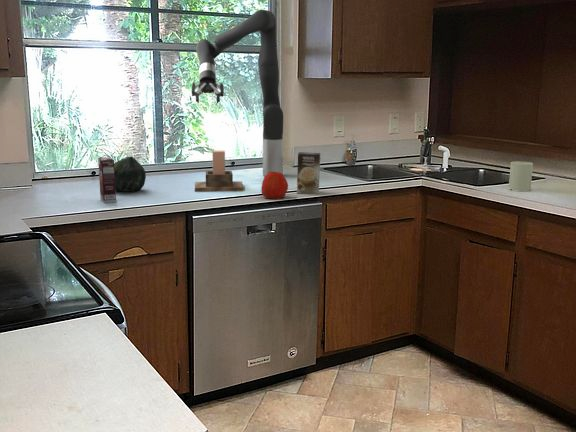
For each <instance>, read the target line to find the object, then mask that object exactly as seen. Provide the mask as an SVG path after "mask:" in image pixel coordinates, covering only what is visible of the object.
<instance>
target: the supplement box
mask: <svg viewBox="0 0 576 432" xmlns="http://www.w3.org/2000/svg"><path fill="white" fill-rule="evenodd" d="M97 163H98V164H97V165H98V177H99V178H98V179H99V194H100V196H99V197H100V200H101V201H102V202H103V203H104V204H105V203H116V202H117V191H116V188H115V169H114V163H115V159H113V158H111V157H110V156H103V157H97Z"/></svg>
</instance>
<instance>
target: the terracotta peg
mask: <svg viewBox="0 0 576 432" xmlns="http://www.w3.org/2000/svg"><path fill="white" fill-rule="evenodd" d="M225 151H226V150H212V171H213V174H225V171H226V152H225Z"/></svg>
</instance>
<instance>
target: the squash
mask: <svg viewBox="0 0 576 432" xmlns="http://www.w3.org/2000/svg"><path fill="white" fill-rule="evenodd" d="M114 169H115V188H116V192H121V191H126V192H128V191H129V192H131V193H135V192H139V191H141V190H142V189H143V188H144V186H145V183H146V178H147V177H146V176H147V174H146V170H145V168H144V167H143V165H142V164H141V163H140V162H139V161H138V160H137V159H136V158H135V157H134V156H126V157H124V158H121V159H120V160H117V161H116V162H114Z"/></svg>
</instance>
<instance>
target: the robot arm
mask: <svg viewBox="0 0 576 432" xmlns="http://www.w3.org/2000/svg"><path fill="white" fill-rule="evenodd" d="M257 32H259V37H260V48H259V53H258V54H259V55H258V59H257V60H258V61H257V63H258V65H257V66H258V75H259V82H260V86H261V87H260V88H261V91H262V103H263V105H262V119H263V123H262V124H263V125H262V127H263V129H262V176H264V177H265V176H266V174H267V173H268V172H274V171H275V172H280V173H282V174H283V175H284V155H283V136H284V112H283V109H282V108H281V103H280V102H281V101H280V97H279V95H280V94H279V86H280V69H279V68H280V67H279V60H278V49H277V47H278V46H277V37H276V36H277V35H276V34H277V20H276V16H275V14H274V13H273V12H272V11H270V10H266V9H259V10H256V11H255V12H254V13H252V14H251V15H250V16H248V17H247V18H245V20H243V21H242V22H240V23H238V24H236V26H233V27H231V28H229V29H228V30H225V31H224V32H221V33H219V34H218V35H216V36H215V37H214V39H213V42H214V44H215V45H213V44H212V43H211V42H210V41H209V40H208V39H206V38H203V39H200V40H199V41H198V42H197V44H196V54H197V58H198V61H199V70H198V79H199V80H198V83H195V82H192V83H191V96H192V97H195V102H196V103H197V104H199V103H200V96H202V94H212V95H214V96H216V104H219V103H220V102H221V97H224V92H225V90H224V84H223V82H220V83H218V84H217V79H216V78H217V77H216V76H217V73H216V62H215V59H216V58H217V57H218V56H219V55H221V54H222V53H223V52H224V51H225V50H227V49H229V48H230V47H232V46H234V45H236V44H237V43H239V42H240V41H241V40H242V39H244V38H246V37H247V36H248V35H251V34H254V33H257ZM197 88H198V89H197ZM196 90H197V91H196Z"/></svg>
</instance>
